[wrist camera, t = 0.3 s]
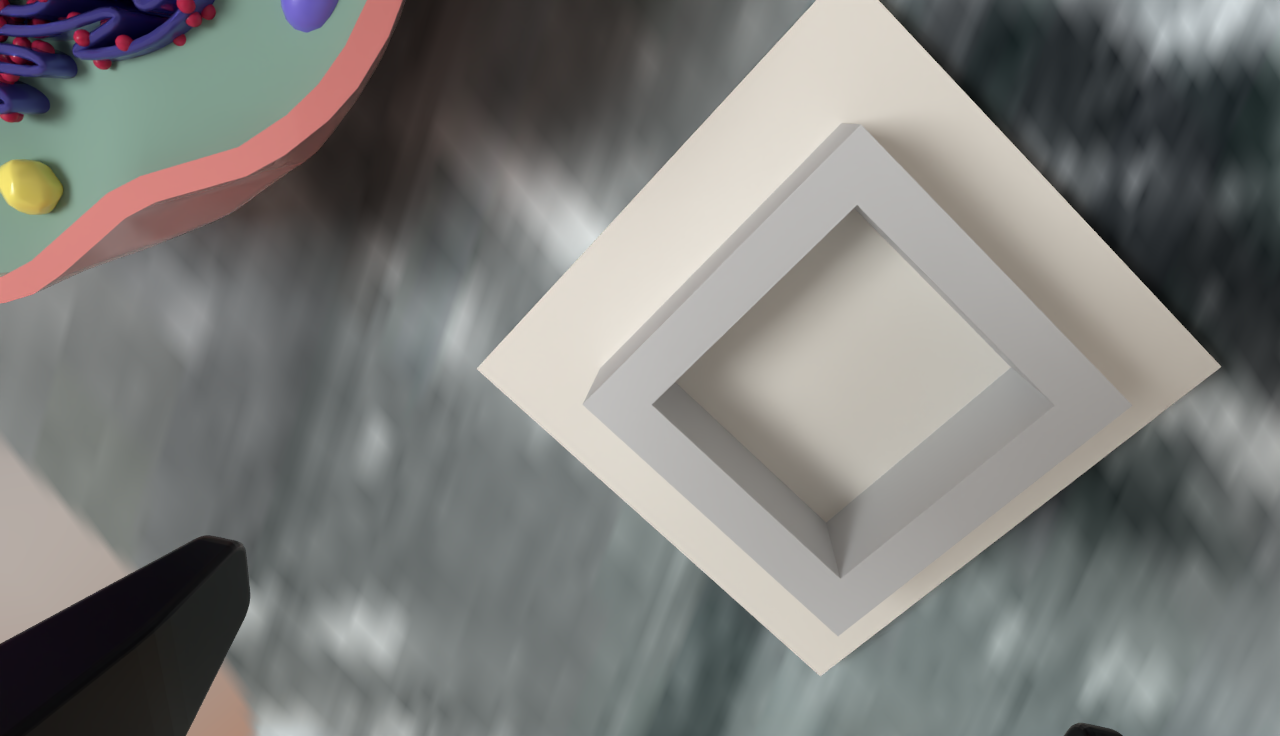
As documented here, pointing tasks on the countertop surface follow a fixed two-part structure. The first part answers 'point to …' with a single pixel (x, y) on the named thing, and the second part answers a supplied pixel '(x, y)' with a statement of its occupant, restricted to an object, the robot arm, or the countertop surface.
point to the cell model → (161, 116)
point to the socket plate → (844, 338)
